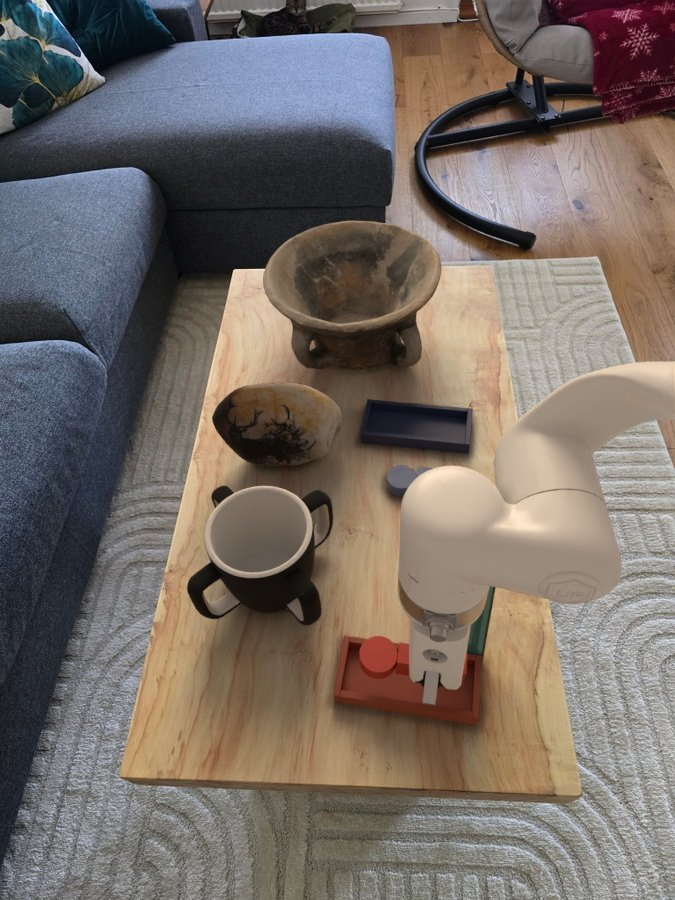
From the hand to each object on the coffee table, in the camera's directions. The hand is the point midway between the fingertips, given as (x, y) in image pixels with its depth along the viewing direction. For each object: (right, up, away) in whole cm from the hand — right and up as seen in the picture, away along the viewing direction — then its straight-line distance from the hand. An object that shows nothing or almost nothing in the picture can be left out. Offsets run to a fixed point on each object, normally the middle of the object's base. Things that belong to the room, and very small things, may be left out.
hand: (431, 667), depth 71 cm
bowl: (-7, +41, +41) cm, 58 cm away
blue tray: (+2, +26, +28) cm, 38 cm away
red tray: (-2, -3, +4) cm, 6 cm away
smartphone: (+3, +6, +4) cm, 8 cm away
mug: (-18, +6, +14) cm, 23 cm away
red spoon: (-3, 0, +1) cm, 3 cm away
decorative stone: (-17, +21, +26) cm, 38 cm away
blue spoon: (+2, +18, +21) cm, 28 cm away
